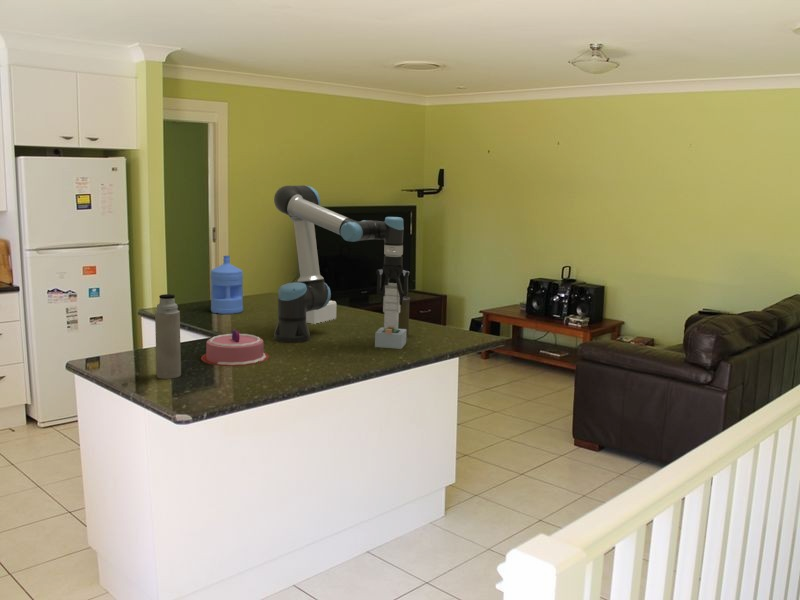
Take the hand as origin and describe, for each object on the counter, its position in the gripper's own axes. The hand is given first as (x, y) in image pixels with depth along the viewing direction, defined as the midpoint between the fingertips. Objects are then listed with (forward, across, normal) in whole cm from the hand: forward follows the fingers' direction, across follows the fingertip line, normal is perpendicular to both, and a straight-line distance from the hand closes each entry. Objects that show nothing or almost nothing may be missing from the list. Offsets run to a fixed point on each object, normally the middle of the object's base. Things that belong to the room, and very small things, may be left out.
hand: (391, 312), depth 299 cm
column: (+8, 0, 0) cm, 8 cm away
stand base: (+15, 0, 0) cm, 15 cm away
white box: (+15, -48, +45) cm, 68 cm away
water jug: (+15, -93, +50) cm, 107 cm away
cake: (+15, -53, -34) cm, 65 cm away
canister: (+15, -1, +20) cm, 25 cm away
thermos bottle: (+15, -65, -64) cm, 92 cm away
